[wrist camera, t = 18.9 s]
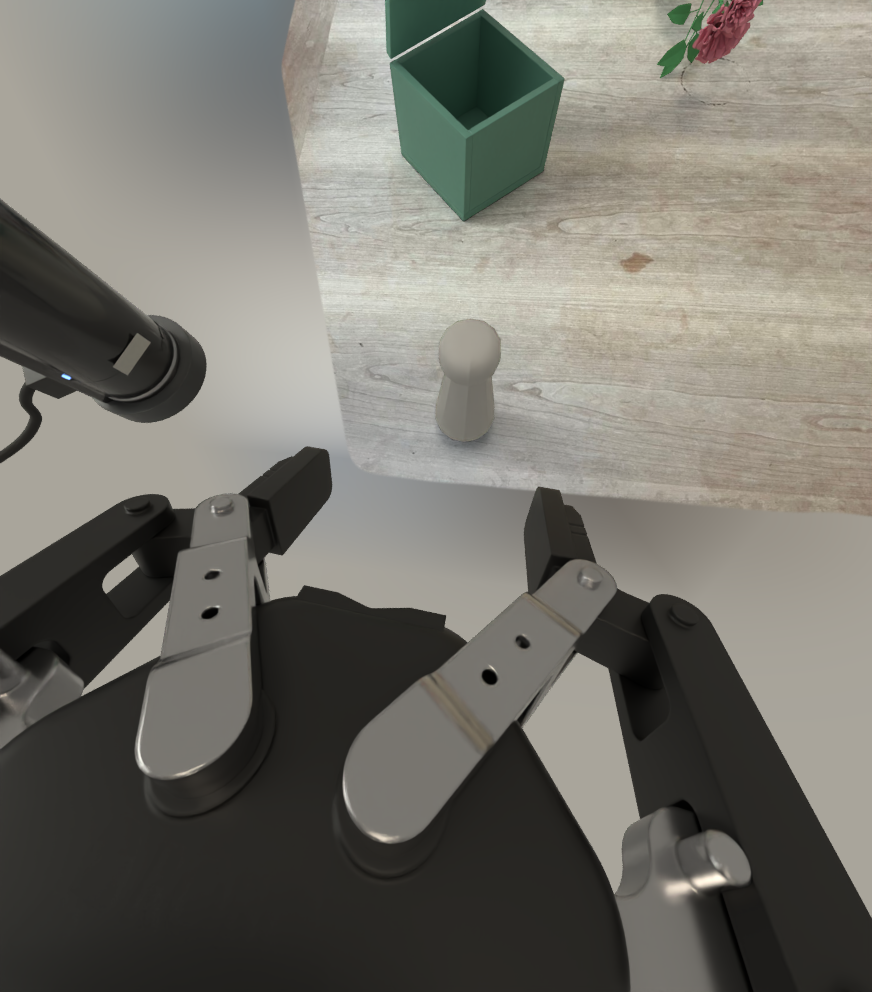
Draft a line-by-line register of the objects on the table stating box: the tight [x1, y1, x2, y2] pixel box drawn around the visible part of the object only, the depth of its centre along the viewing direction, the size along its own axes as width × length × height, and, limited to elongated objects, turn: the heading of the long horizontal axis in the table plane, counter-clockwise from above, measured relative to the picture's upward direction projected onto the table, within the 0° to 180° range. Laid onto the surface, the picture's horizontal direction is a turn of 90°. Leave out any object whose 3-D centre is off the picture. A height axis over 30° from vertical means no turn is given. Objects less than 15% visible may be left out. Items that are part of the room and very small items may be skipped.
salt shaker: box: [435, 319, 501, 442], centre depth 27 cm, size 6×6×13 cm
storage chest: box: [390, 9, 564, 221], centre depth 37 cm, size 14×12×8 cm
